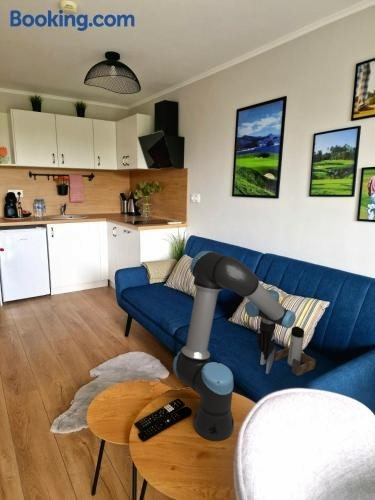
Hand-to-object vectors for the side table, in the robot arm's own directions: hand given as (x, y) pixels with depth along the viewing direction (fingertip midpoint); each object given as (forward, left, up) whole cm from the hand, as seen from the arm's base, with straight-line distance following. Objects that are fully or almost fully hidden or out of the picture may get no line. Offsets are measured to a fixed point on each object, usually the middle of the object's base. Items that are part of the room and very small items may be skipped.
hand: (262, 363), depth 163 cm
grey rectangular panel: (+3, -2, -2) cm, 4 cm away
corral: (+17, -6, -2) cm, 18 cm away
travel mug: (+17, -6, -2) cm, 18 cm away
